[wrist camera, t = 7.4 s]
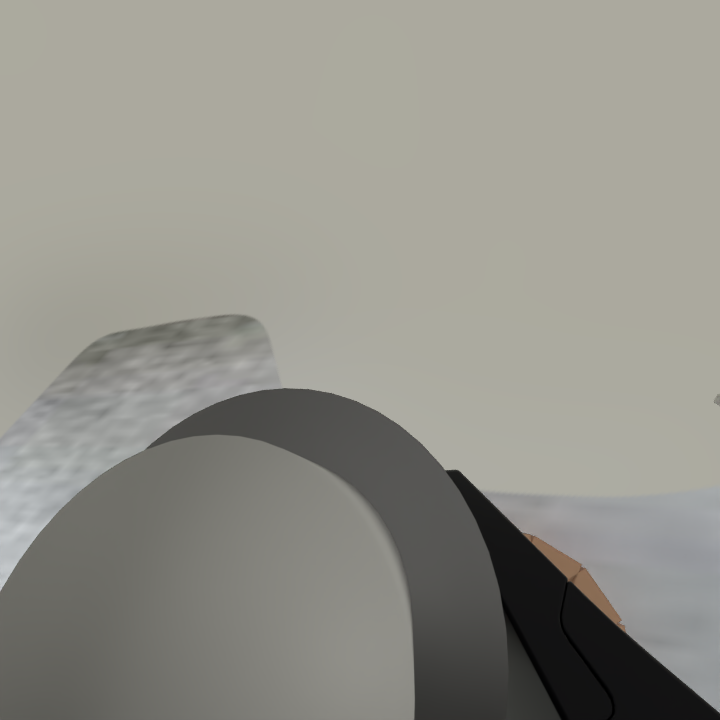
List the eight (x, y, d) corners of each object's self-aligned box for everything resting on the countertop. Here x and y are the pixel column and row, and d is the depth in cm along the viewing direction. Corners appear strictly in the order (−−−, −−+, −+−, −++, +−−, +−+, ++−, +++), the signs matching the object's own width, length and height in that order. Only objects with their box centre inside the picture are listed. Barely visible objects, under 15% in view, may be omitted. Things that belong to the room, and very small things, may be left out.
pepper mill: (334, 628, 13) (-388, 1810, 1) (296, 496, 15) (-113, 461, 3) (455, 575, 13) (854, 1182, 1) (402, 452, 15) (376, 264, 3)
